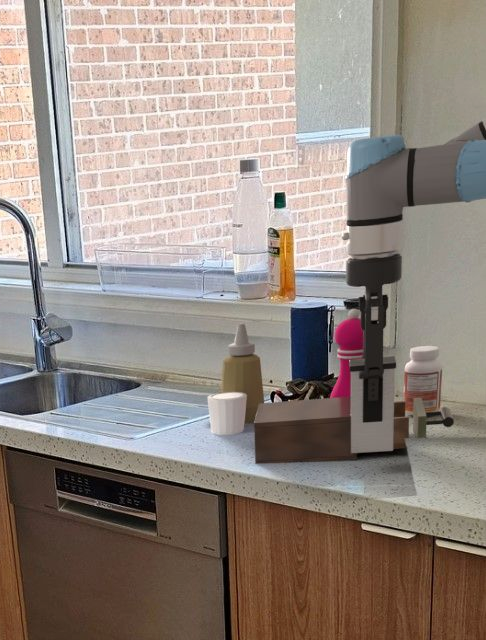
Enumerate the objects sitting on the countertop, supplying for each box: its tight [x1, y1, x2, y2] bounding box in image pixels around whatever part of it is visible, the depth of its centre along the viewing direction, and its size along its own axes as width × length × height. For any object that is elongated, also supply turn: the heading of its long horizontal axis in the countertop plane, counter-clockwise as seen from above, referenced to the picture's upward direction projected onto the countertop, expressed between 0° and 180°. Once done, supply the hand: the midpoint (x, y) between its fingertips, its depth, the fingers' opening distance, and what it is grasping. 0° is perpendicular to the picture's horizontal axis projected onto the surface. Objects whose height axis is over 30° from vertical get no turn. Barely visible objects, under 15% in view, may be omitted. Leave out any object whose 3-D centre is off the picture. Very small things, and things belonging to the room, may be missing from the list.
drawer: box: [393, 398, 455, 450], centre depth 196 cm, size 19×13×5 cm
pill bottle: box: [402, 345, 443, 416], centre depth 213 cm, size 6×6×11 cm
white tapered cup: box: [207, 392, 247, 436], centre depth 218 cm, size 7×7×7 cm
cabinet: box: [253, 397, 358, 465], centre depth 199 cm, size 16×15×7 cm
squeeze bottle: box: [219, 322, 265, 425], centre depth 222 cm, size 8×8×18 cm
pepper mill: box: [329, 308, 363, 398], centre depth 208 cm, size 7×7×20 cm
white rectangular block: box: [349, 355, 397, 454], centre depth 182 cm, size 6×5×13 cm
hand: (372, 416), depth 182 cm, fingers closed on white rectangular block, 5 cm apart
